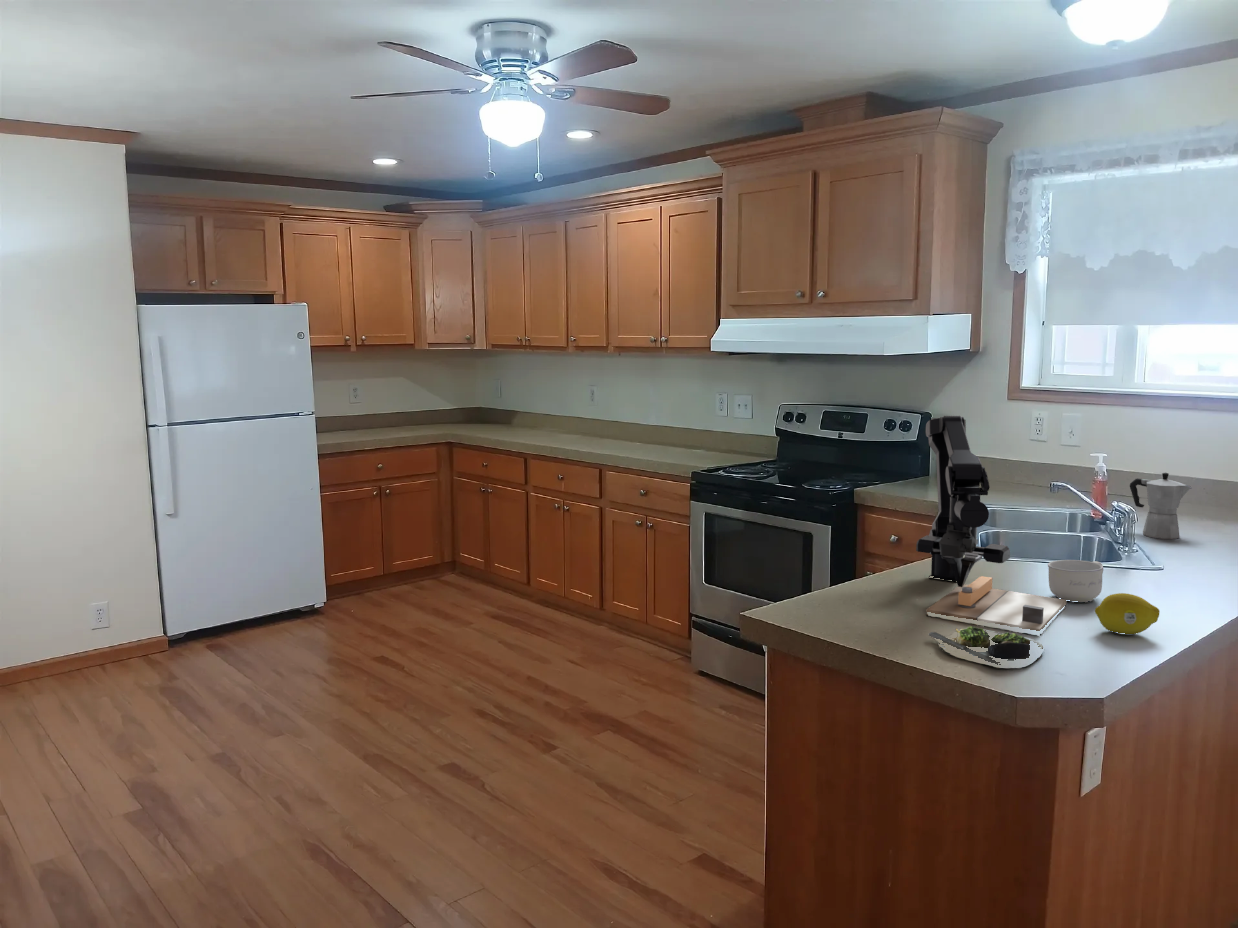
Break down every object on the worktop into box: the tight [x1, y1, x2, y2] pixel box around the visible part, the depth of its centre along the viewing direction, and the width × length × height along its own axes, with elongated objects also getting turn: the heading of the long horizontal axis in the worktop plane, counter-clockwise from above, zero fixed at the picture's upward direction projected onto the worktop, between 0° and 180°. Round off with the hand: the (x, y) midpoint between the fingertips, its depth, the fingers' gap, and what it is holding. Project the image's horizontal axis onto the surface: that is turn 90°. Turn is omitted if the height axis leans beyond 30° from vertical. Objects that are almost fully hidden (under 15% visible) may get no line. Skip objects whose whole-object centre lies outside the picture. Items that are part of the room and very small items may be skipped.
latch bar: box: [958, 575, 993, 606], centre depth 194 cm, size 16×2×3 cm, turn 142°
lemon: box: [1094, 592, 1160, 635], centre depth 174 cm, size 11×8×8 cm
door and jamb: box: [926, 583, 1067, 631], centre depth 189 cm, size 22×23×4 cm
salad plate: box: [928, 625, 1044, 665], centre depth 167 cm, size 19×18×5 cm
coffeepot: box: [1129, 472, 1193, 540], centre depth 253 cm, size 15×9×18 cm, turn 44°
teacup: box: [1047, 559, 1104, 603], centre depth 197 cm, size 14×11×8 cm
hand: (960, 586), depth 199 cm, fingers closed
